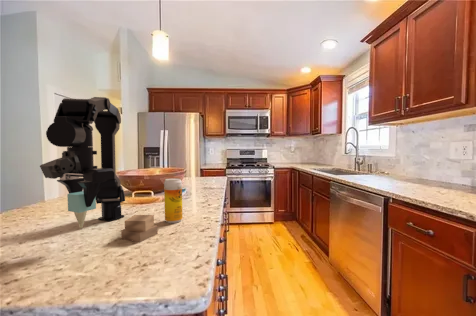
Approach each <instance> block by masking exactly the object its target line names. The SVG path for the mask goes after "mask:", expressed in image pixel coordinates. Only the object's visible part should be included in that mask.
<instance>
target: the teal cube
mask: <svg viewBox="0 0 476 316" xmlns="http://www.w3.org/2000/svg"><path fill="white" fill-rule="evenodd" d="M66 198H67V212H73V213H74V212H77V213H81V212H85V211H87V212H89V211H92V210H96V209H97V203H96V197H95V199H94V201H93V203H92V205H91V206H90V207H86V204H85V199H84V192H83V191H82V192H76V193H70V194H69V193H67V197H66Z"/></svg>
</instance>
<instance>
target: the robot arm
mask: <svg viewBox="0 0 476 316" xmlns="http://www.w3.org/2000/svg"><path fill="white" fill-rule="evenodd" d="M93 123H94V128H95V129H96V130H97V132H98V133H99V134H100V162H101V163H100V167H98V165H94V155H95V156H96V155H98V151H97V150H94V139H93V138H94V137H93V131H94V128H93V126H92V124H93ZM121 124H122V117H121V114H120V111H119V109H118V107H117V106H115V105H114V104H113V103H112V102H111V100H110V99H109V98H108V97H104V96H102V97H101V96H100V97H99V96H93V97H91V98H87V99H86V98H66V97H65V98H63V99H62V100H61V102H60V103H59V105H58V108H57V110H56V113H55V115H54V118H53V122H52V123H51V124H49V126H48V127H47V129H46V132H45V135H46V139H47V141H48V142H49V143H50V144H52V145H53V146H56V147H60V148H66V150H63V151H62V153H61V157H59V158H56V159H53V160H50V161H48V162H45V163H43V164H40V165H39V167H40V170H41V173H42V174H43V176H44V178H45V179H52V180H53V179H55V180H56V179H57V180H56V182H58V183H60V184H62V185H64V186H65V188H66V190H67V192H68V194H70V193H76V192H82V191H83V192H84V199H85V204H86V207H90V206H91V205H92V203H93V201H94V199H95V197H96V205H97V204H101V206H100V207H101V216H100V217H97V219H98V220H99V221H106V222H111V221H115V220H118V219H121V218H124V217H125V215H124V214H122V203H123V202H125V201H126V193H125V190H124V188H123V186H122V183H121V180H120V178H119V177H118V176H117V173H116V172H117V171H116V134H117V133H118V131H119V130H120V125H121ZM58 178H59V179H58Z"/></svg>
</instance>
